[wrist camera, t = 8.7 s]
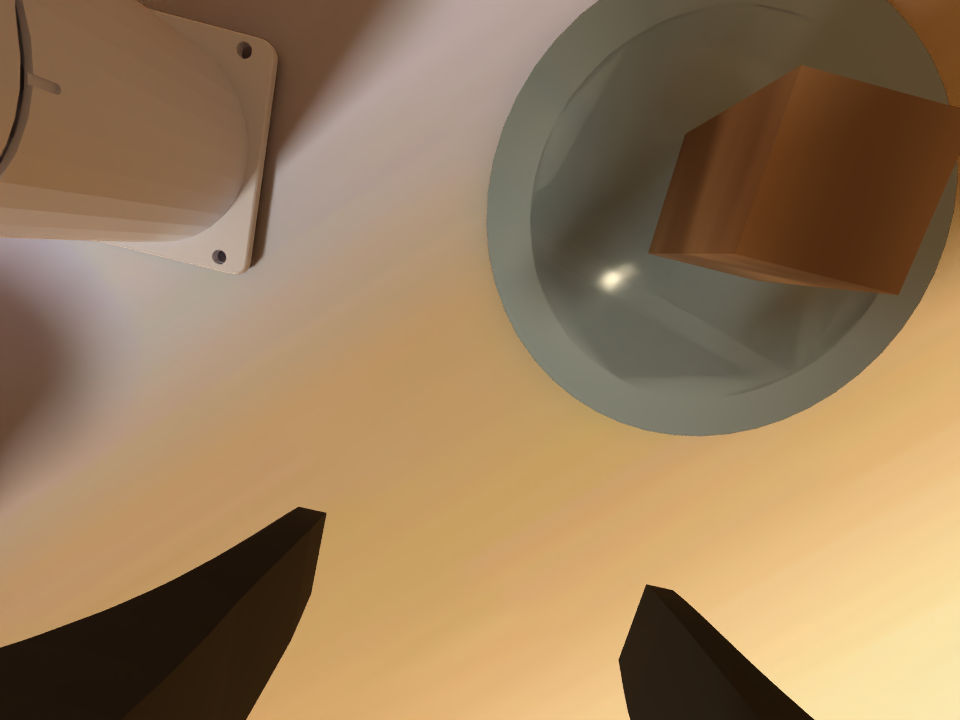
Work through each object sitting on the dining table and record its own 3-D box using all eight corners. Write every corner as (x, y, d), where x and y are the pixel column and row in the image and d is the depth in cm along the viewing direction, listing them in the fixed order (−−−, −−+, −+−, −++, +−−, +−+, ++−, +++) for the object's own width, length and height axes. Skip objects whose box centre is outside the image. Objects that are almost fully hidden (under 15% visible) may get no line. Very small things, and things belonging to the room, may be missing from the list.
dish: (444, 374, 19) (441, 381, 18) (552, -87, 16) (557, -115, 14) (822, 464, 20) (843, 477, 19) (1005, 41, 16) (1045, 24, 15)
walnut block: (647, 253, 17) (735, 253, 11) (684, 134, 16) (801, 65, 10) (755, 280, 17) (898, 295, 11) (798, 163, 16) (978, 112, 10)
